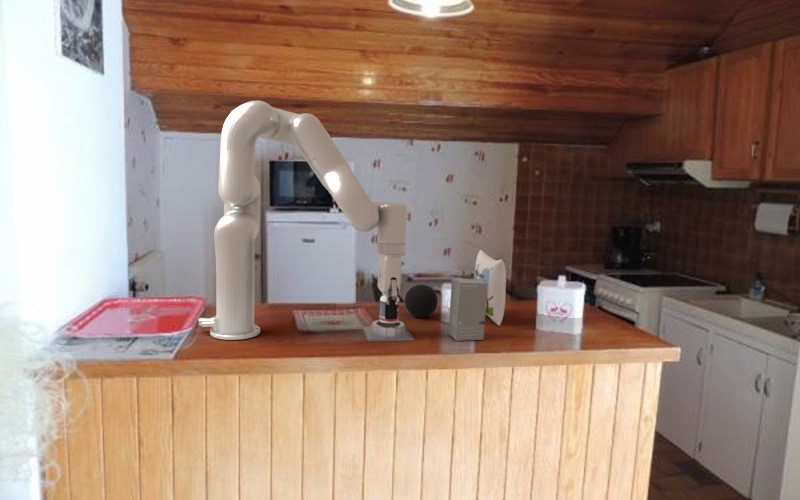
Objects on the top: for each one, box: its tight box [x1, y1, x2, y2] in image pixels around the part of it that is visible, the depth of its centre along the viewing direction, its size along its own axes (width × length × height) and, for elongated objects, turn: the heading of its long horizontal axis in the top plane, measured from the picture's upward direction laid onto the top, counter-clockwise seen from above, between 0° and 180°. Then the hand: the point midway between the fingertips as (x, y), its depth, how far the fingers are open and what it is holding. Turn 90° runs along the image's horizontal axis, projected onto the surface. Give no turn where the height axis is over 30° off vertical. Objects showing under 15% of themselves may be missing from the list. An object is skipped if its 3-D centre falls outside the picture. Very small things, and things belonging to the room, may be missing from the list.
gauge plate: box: [362, 319, 415, 342], centre depth 153 cm, size 12×11×3 cm
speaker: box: [404, 284, 439, 318], centre depth 173 cm, size 10×10×10 cm
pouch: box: [473, 249, 507, 327], centre depth 174 cm, size 8×19×20 cm, turn 7°
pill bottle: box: [378, 290, 400, 324], centre depth 152 cm, size 5×5×9 cm
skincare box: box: [447, 278, 488, 342], centre depth 153 cm, size 8×7×16 cm
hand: (388, 315), depth 153 cm, fingers closed on pill bottle, 5 cm apart
